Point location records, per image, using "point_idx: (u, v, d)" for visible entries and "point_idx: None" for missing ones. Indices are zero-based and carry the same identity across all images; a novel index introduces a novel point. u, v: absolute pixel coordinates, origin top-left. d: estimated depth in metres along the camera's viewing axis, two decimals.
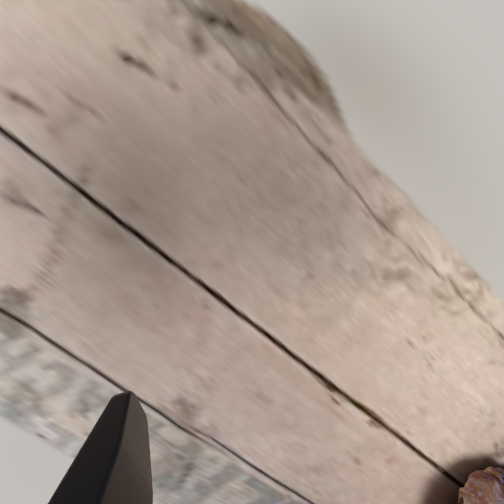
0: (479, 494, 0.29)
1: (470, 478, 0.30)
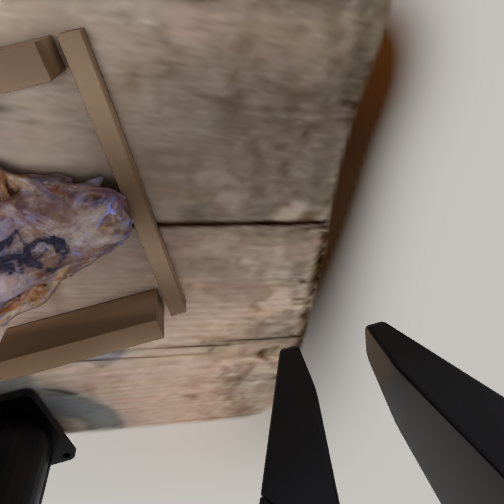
0: None
1: None
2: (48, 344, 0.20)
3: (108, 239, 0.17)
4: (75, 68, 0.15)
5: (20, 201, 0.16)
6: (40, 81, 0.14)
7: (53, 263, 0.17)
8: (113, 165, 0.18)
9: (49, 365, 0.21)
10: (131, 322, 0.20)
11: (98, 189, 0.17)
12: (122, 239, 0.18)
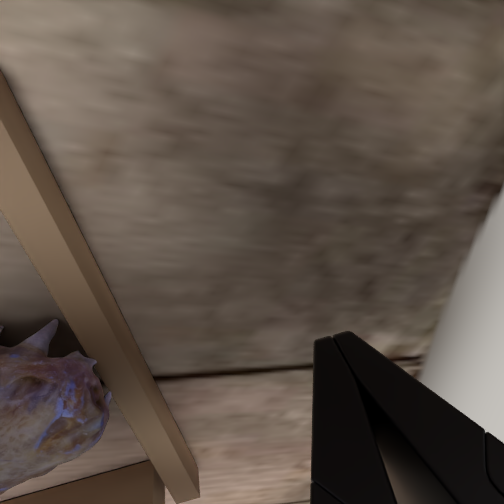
0: None
1: None
2: None
3: (61, 458, 0.09)
4: None
5: None
6: None
7: None
8: (71, 316, 0.09)
9: None
10: None
11: (41, 365, 0.09)
12: (89, 448, 0.10)
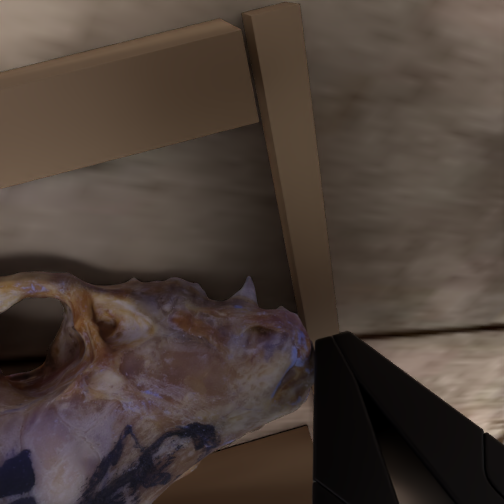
0: None
1: None
2: None
3: (286, 410, 0.09)
4: (274, 88, 0.07)
5: (129, 359, 0.08)
6: (236, 123, 0.06)
7: (188, 466, 0.09)
8: (302, 264, 0.09)
9: None
10: (288, 502, 0.12)
11: (265, 315, 0.09)
12: (304, 401, 0.10)
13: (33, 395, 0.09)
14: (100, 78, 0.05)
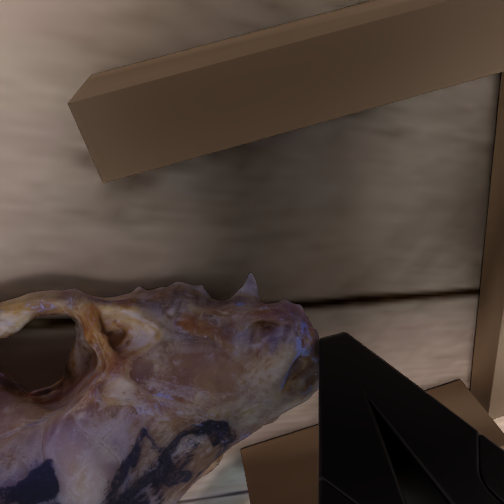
0: None
1: None
2: None
3: (298, 400, 0.09)
4: None
5: (138, 365, 0.08)
6: None
7: (209, 462, 0.09)
8: None
9: None
10: None
11: (267, 309, 0.09)
12: (316, 390, 0.10)
13: (54, 408, 0.09)
14: (486, 2, 0.06)
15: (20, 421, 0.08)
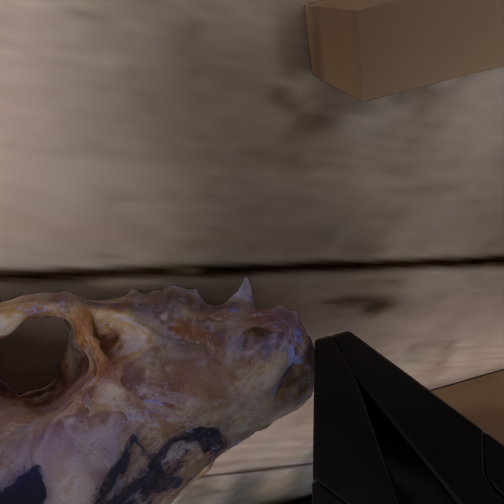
0: None
1: None
2: None
3: (290, 407, 0.09)
4: None
5: (130, 370, 0.08)
6: None
7: (199, 468, 0.09)
8: None
9: None
10: None
11: (261, 316, 0.09)
12: (309, 397, 0.10)
13: (45, 411, 0.09)
14: None
15: (10, 425, 0.08)
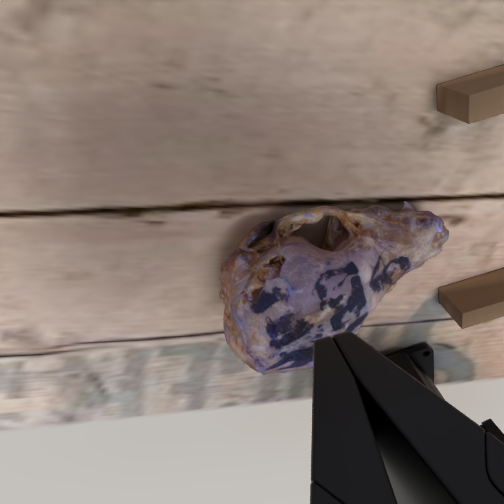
0: (225, 291, 0.20)
1: (221, 274, 0.21)
2: None
3: (435, 252, 0.21)
4: None
5: (372, 233, 0.20)
6: None
7: (397, 278, 0.21)
8: None
9: (501, 314, 0.24)
10: None
11: (420, 213, 0.21)
12: (440, 250, 0.21)
13: None
14: None
15: (333, 251, 0.20)
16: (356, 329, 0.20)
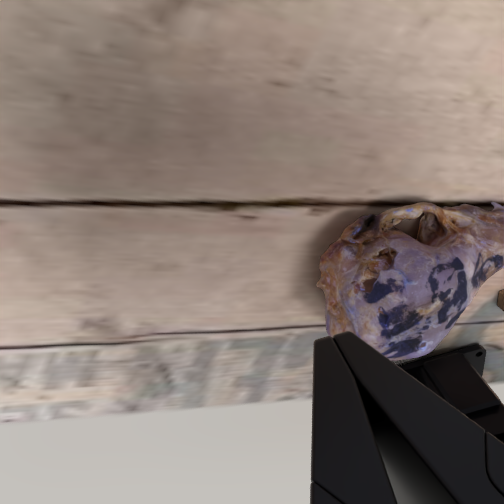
0: (328, 281, 0.20)
1: (320, 264, 0.21)
2: None
3: None
4: None
5: (471, 230, 0.21)
6: None
7: (489, 276, 0.22)
8: None
9: None
10: None
11: None
12: None
13: None
14: None
15: (436, 247, 0.20)
16: (454, 323, 0.20)
